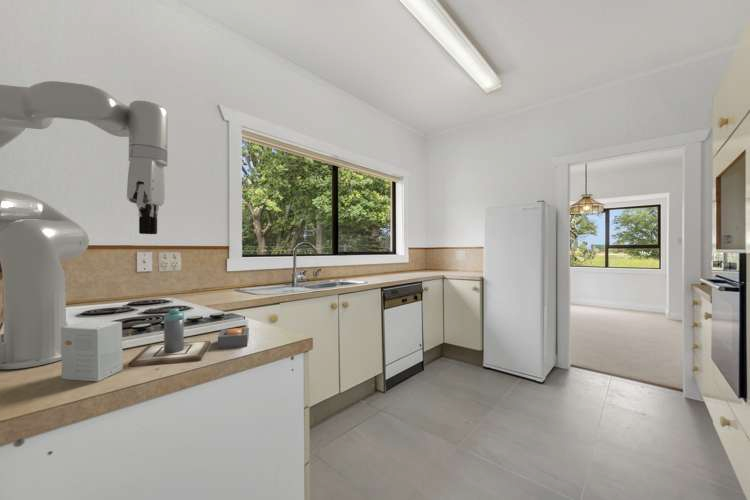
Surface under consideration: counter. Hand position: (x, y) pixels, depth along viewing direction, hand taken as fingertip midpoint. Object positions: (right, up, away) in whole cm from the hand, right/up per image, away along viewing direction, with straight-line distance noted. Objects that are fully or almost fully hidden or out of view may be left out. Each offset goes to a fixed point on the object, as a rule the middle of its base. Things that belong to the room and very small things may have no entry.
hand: (148, 233), depth 75 cm
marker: (+6, -28, +1) cm, 29 cm away
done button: (+16, -28, +10) cm, 34 cm away
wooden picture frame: (+5, -29, +1) cm, 30 cm away
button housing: (+16, -29, +10) cm, 35 cm away
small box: (-3, -30, -11) cm, 32 cm away
